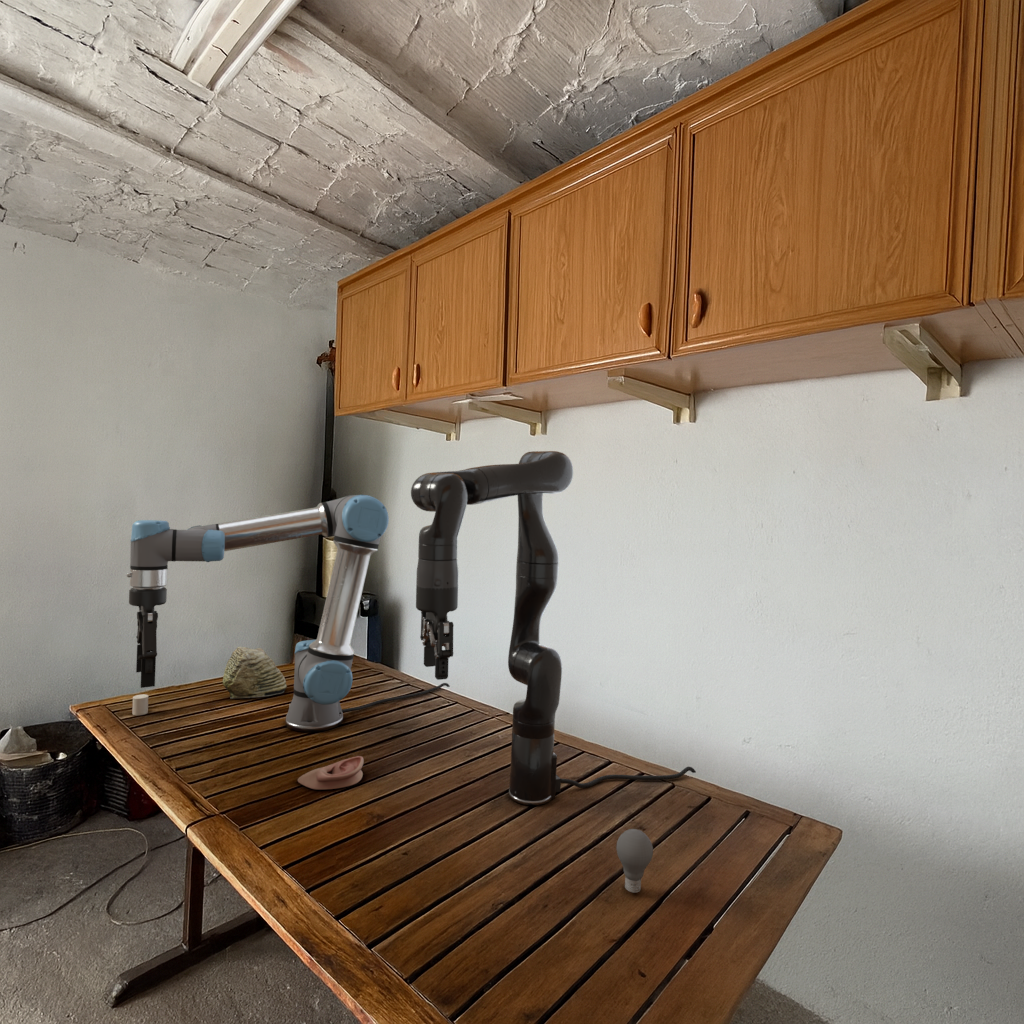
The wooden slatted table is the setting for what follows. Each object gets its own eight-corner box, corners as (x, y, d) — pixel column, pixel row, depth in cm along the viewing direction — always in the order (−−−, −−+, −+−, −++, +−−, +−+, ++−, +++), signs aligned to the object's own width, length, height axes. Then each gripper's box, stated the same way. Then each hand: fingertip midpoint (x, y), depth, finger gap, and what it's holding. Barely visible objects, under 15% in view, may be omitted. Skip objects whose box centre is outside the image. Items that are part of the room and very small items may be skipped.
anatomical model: (290, 768, 137) (317, 748, 149) (290, 786, 138) (316, 764, 149) (347, 776, 135) (370, 755, 146) (346, 794, 135) (369, 772, 146)
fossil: (218, 695, 195) (220, 647, 195) (278, 685, 208) (279, 640, 207) (228, 703, 189) (230, 653, 188) (289, 692, 201) (290, 645, 201)
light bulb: (610, 879, 108) (613, 822, 108) (644, 879, 109) (647, 822, 109) (619, 902, 102) (622, 840, 102) (655, 901, 103) (658, 840, 103)
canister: (130, 715, 176) (130, 698, 176) (135, 711, 179) (135, 694, 179) (145, 715, 177) (145, 698, 176) (149, 710, 180) (150, 694, 180)
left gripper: (126, 580, 154) (123, 667, 154) (133, 596, 133) (129, 696, 134) (161, 579, 158) (158, 664, 159) (173, 594, 138) (169, 691, 138)
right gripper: (468, 588, 109) (466, 681, 110) (447, 577, 122) (445, 660, 123) (426, 590, 106) (424, 685, 107) (408, 578, 120) (406, 663, 120)
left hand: (145, 678), depth 146 cm, fingers open, 13 cm apart
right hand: (435, 672), depth 115 cm, fingers open, 8 cm apart
